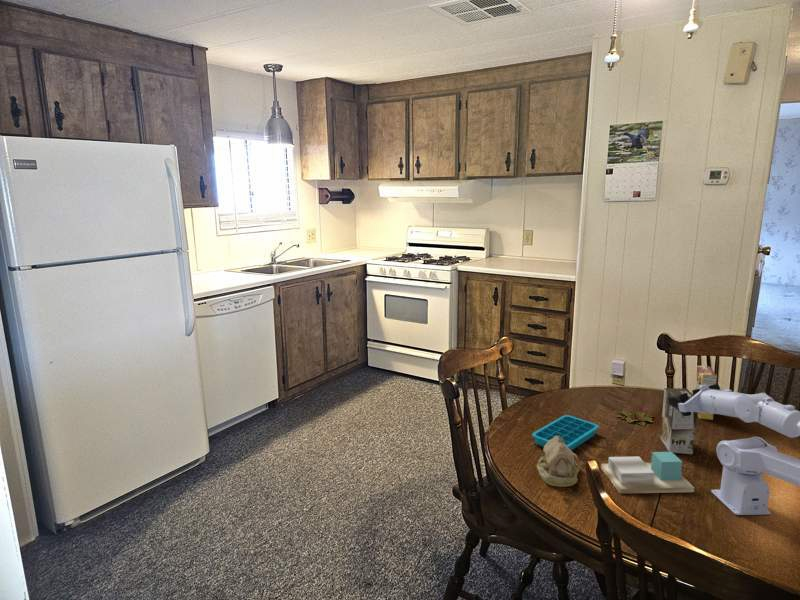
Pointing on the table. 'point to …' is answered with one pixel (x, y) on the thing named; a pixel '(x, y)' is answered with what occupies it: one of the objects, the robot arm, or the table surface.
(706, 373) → the candy box
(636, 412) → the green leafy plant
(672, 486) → the stacking base
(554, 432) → the ice cube tray
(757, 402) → the robot arm
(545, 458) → the ceramic model
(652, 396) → the table surface
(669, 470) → the teal cube
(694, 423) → the coffee box
